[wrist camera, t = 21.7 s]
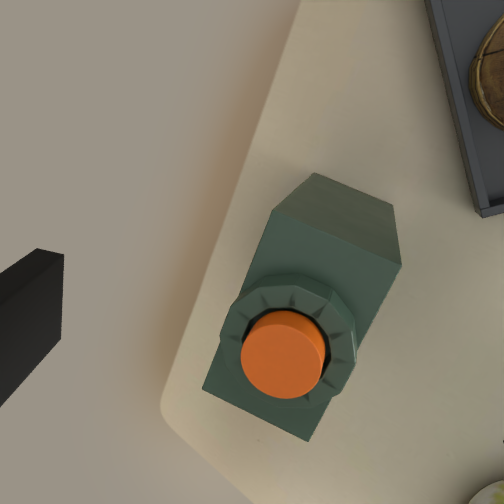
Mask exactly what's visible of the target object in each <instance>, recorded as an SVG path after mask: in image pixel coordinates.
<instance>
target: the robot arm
mask: <svg viewBox="0 0 504 504" xmlns="http://www.w3.org/2000/svg"><path fill="white" fill-rule="evenodd" d="M63 271H64V254H60V253H55V252H51V251H46V250H42V249H38V248H37V249H35V250H34V251H32V252H31V253H29V254H28V255H26V256H25V257H23V258H22V259H20V260H19V261H17V262H16V263H15V264H13V265H12V266H10V267H9V268H7V269H6V270H4V271H3V272H2V273H0V407H1V406H2V405H3V403H4V402H5V401H6V400H7V399H8V398H9V397H10V396H11V394H12V393H13V392H14V391H15V390H16V389H17V388H18V387H19V385H20V384H21V383H22V382H23V381H24V380H25V379H26V378H27V377H28V375H29V374H30V373H31V372H32V371H33V370H34V368H36V366H37V365H38V364H39V363H40V362H41V361H42V360H43V358H44V357H45V356H46V355H47V354H48V353H49V352H50V350H51V349H52V348H53V347H54V346H55V345H56V344H57V342H58V341H59V340H60V339H61V322H62V297H63ZM503 442H504V441H503Z"/></svg>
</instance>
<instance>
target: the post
mask: <svg viewBox="0 0 504 504" xmlns="http://www.w3.org/2000/svg"><path fill="white" fill-rule="evenodd" d="M401 267H402V263H401V256H400V249H399V243H398V236H397V229H396V222H395V215H394V209H393V205H391V204H389V203H387V202H384V201H382V200H379V199H377V198H375V197H372V196H370V195H367V194H365V193H363V192H360V191H358V190H355V189H353V188H351V187H348V186H346V185H343V184H341V183H339V182H336V181H334V180H331V179H329V178H327V177H324V176H322V175H319V174H317V173H313V174H312V175H311V176H310V177H309V178H308V179H306V180H305V181H304V182H303V183H302V184H301V185H300V186H299V187H298V188H296V189H295V190H294V191H293V192H292V193H291V194H290V195H289V196H287V197H286V198H285V199H284V200H283V201H282V202H281V203H280V204H279V205H277V206H276V207H275V208H274V209H273V210H272V212H271V215H270V217H269V220H268V222H267V225H266V227H265V230H264V233H263V235H262V238H261V240H260V243H259V245H258V248H257V250H256V253H255V255H254V258H253V260H252V263H251V265H250V268H249V270H248V273H247V275H246V278H245V281H244V283H243V286H242V288H241V291H240V293H239V296H238V297H237V299H236V300H235V301H234V303H233V304H232V305H231V306H230V309H229V312H228V314H227V317H226V319H225V322H224V324H223V327H222V329H221V332H220V340H221V341H220V344H219V346H218V349H217V351H216V354H215V356H214V359H213V361H212V364H211V367H210V369H209V372H208V374H207V377H206V379H205V382H204V384H203V387H202V390H204V391H206V392H208V393H210V394H212V395H214V396H216V397H218V398H220V399H223V400H225V401H227V402H229V403H231V404H233V405H235V406H237V407H239V408H241V409H243V410H245V411H247V412H249V413H251V414H253V415H255V416H257V417H259V418H261V419H263V420H265V421H267V422H269V423H271V424H273V425H275V426H277V427H279V428H281V429H283V430H285V431H287V432H289V433H291V434H293V435H295V436H297V437H299V438H301V439H303V440H305V441H307V442H309V440H310V438H311V436H312V435H313V433H314V431H315V429H316V427H317V425H318V423H319V421H320V420H321V418H322V416H323V414H324V412H325V410H326V408H327V406H328V404H329V403H330V401H331V399H332V397H334V396H336V395H338V394H339V393H340V392H341V391H342V390H343V388H344V386H345V384H346V382H347V380H348V378H349V376H350V375H351V373H352V371H353V369H354V367H355V365H356V358H357V350H358V348H359V346H360V344H361V342H362V340H363V339H364V337H365V335H366V333H367V331H368V329H369V327H370V325H371V323H372V322H373V320H374V318H375V316H376V314H377V312H378V310H379V308H380V307H381V305H382V303H383V301H384V299H385V297H386V295H387V293H388V291H389V290H390V288H391V286H392V284H393V282H394V280H395V278H396V276H397V275H398V273H399V271H400V269H401ZM275 311H292V312H296V313H299V314H301V315H303V316H305V317H307V318H308V319H309V320H311V321H312V322H313V323H314V324H315V325H316V326H317V327H318V329H319V330H320V332H321V334H322V336H323V338H324V342H325V349H326V351H325V358H324V362H323V366H322V371H321V375H320V378H319V380H318V382H317V384H316V385H315V386H314V387H313V388H312V389H311V390H310V391H309V392H307V393H306V394H304V395H302V396H299V397H296V398H288V399H284V398H277V397H273V396H270V395H267V394H265V393H263V392H262V391H260V390H259V389H257V388H256V387H255V386H254V385H253V384H252V383H251V382H250V381H249V379H248V378H247V376H246V375H245V373H244V370H243V368H242V364H241V349H242V346H243V343H244V341H245V340H246V338H247V336H248V334H249V333H250V331H251V329H252V328H253V326H254V325H255V323H256V322H257V321H258V320H259V319H260V318H261V317H263V316H264V315H266V314H268V313H271V312H275Z"/></svg>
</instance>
